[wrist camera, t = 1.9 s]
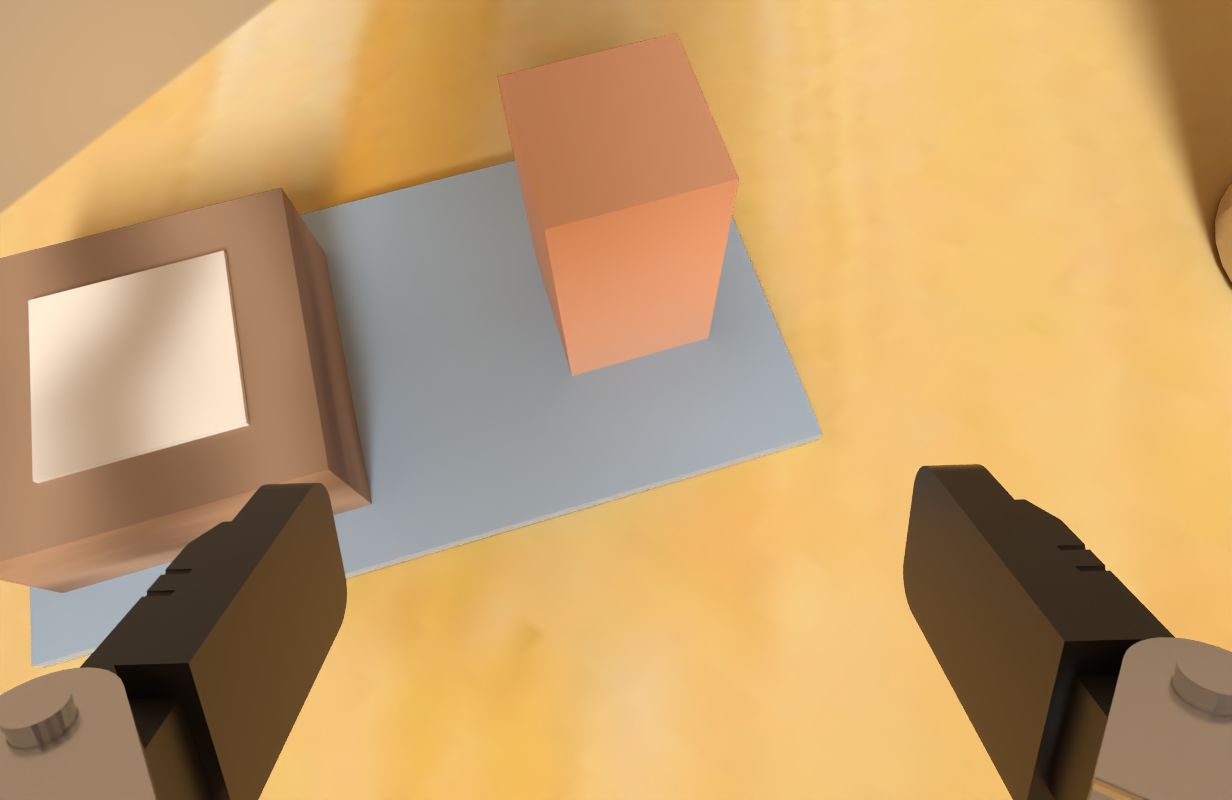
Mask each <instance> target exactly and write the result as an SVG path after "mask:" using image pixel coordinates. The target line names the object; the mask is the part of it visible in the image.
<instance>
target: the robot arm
mask: <svg viewBox="0 0 1232 800" xmlns="http://www.w3.org/2000/svg"><path fill="white" fill-rule="evenodd" d="M1215 237H1216V245H1217V249H1218V252H1219V256H1220V259H1221V263H1222V266H1223V267H1224V269H1225V271H1226V273H1227V275H1228V277H1229V279H1230V280H1231V282H1232V183H1231V184H1230V185H1229V187H1228V189H1227V190H1226V192H1225V194H1224V195H1223V197H1222V199H1221V200H1220V203H1219V207H1218V211H1217V215H1216V219H1215ZM165 570H166V573H165V575H160V576H159V577H158V579H157V580H156V581H155V582H154V583H153V584H152V585H151V587H150V588H149V589H148V590H147V595H146V596H145V597H141V598H140V599H139V600H138V601H137V603H136V604H135V605H134V606H133V607H132V608H131V610H130V611H129V612H128V613H127V614H126V615H125V616H124V618H123V619H122V620H121V621H120V622H119V623H118V624H117V626H116V627H115V628H114V629H113V630H112V631H111V632H110V634H109V635H108V636H107V637H106V638H105V639H104V640H103V642H102V643H101V644H100V645H99V646H98V647H97V649H96V650H95V651H94V652H93V653H92V654H91V655H90V657H89V658H88V659H87V660H86V661H85V662H84V663H83V665H82V666H81V667H80V668H74V669H67V670H62V671H58V672H54V673H50V674H47V675H44V676H41V677H38V678H35V679H33V680H30V681H28V682H26V683H23V684H21V685H19V686H17V687H15V688H13V689H11V690H9V691H7V692H5V693H4V694H2V695H0V800H258V799H259V797H260V795H261V793H262V790H263V788H264V786H265V784H266V782H267V780H268V778H269V776H270V774H271V772H272V770H273V767H274V765H275V763H276V761H277V759H278V757H279V755H280V753H281V751H282V749H283V746H284V744H285V742H286V740H287V738H288V736H289V734H290V732H291V730H292V728H293V725H294V723H295V721H296V719H297V717H298V715H299V713H300V711H301V709H302V707H303V704H304V702H305V700H306V698H307V696H308V694H309V692H310V690H311V688H312V686H313V683H314V681H315V679H316V677H317V675H318V673H319V671H320V669H321V667H322V665H323V662H324V660H325V658H326V656H327V654H328V652H329V650H330V648H331V646H332V644H333V641H334V639H335V637H336V635H337V633H338V631H339V629H340V627H341V624H342V621H343V618H344V614H345V609H346V600H347V585H346V577H345V571H344V566H343V561H342V556H341V551H340V546H339V541H338V536H337V531H336V526H335V521H334V516H333V511H332V505H331V501H330V497H329V494H328V491H327V489H326V487H325V486H324V485H323V484H322V483H290V484H265V485H262V486H261V487H260V488H259V489H258V490H257V491H256V492H255V493H254V495H253V496H252V497H251V498H250V500H249V501H248V502H247V503H246V504H245V506H244V507H243V508H242V509H241V510H240V512H239V513H238V514H237V515H236V517H235V518H234V519H233V520H232V521H226V522H221V523H219V524H218V525H216V526H215V527H213V528H212V529H210V530H209V531H207V532H205V533H204V534H202V535H201V536H199V537H198V538H196V539H195V540H193V541H191V542H190V543H188V544H187V545H186V546H185V548H184V549H183V550H182V551H181V552H180V553H179V554H178V556H177V557H176V558H175V559H174V560H173V561H172V562H171V564H170V565H169V566H168V567H167V568H166V569H165ZM903 578H904V587H905V593H906V598H907V601H908V604H909V607H910V609H911V612H912V614H913V615H914V617H915V619H916V621H917V623H918V625H919V627H920V628H921V630H922V632H923V634H924V636H925V638H926V640H927V641H928V643H929V645H930V647H931V649H932V651H933V652H934V654H935V656H936V658H937V660H938V662H939V664H940V665H941V667H942V669H943V671H944V673H945V675H946V677H947V678H948V680H949V682H950V684H951V686H952V688H953V689H954V691H955V693H956V695H957V697H958V699H959V701H960V702H961V704H962V706H963V708H964V710H965V712H966V714H967V715H968V717H969V719H970V721H971V723H972V725H973V726H974V728H975V730H976V732H977V734H978V736H979V738H980V739H981V741H982V743H983V745H984V747H985V749H986V751H987V752H988V754H989V756H990V758H991V760H992V762H993V763H994V765H995V767H996V769H997V771H998V773H999V775H1000V776H1001V778H1002V780H1003V782H1004V784H1005V786H1006V788H1007V789H1008V791H1009V793H1010V795H1011V797H1012V799H1013V800H1232V652H1230V651H1228V650H1225V649H1222V648H1219V647H1216V646H1214V645H1210V644H1206V643H1203V642H1199V641H1194V640H1189V639H1182V638H1175V637H1174V636H1173V635H1172V634H1171V633H1170V632H1169V631H1168V630H1167V629H1166V628H1165V627H1164V626H1163V625H1162V624H1161V623H1160V622H1159V621H1158V619H1157V618H1156V617H1155V616H1154V615H1153V614H1152V613H1151V612H1150V611H1149V610H1148V609H1147V608H1146V607H1145V606H1144V605H1143V604H1142V603H1141V602H1140V601H1139V600H1138V599H1137V598H1136V597H1135V596H1134V595H1133V594H1132V593H1131V592H1130V591H1129V590H1128V589H1127V588H1126V587H1125V585H1124V584H1123V583H1122V582H1121V581H1120V580H1119V579H1118V578H1117V577H1116V576H1115V575H1114V574H1113V573H1112V572H1111V571H1106V570H1105V565H1104V564H1103V563H1102V562H1101V561H1100V560H1099V559H1098V558H1097V557H1096V556H1095V555H1094V554H1093V553H1092V551H1091V550H1086V549H1085V544H1084V543H1083V542H1082V541H1081V540H1080V539H1079V538H1078V537H1077V536H1076V535H1075V534H1074V533H1073V532H1072V531H1071V530H1070V529H1069V528H1068V527H1067V526H1066V525H1065V524H1064V523H1063V522H1062V521H1061V520H1060V519H1058V518H1056V517H1055V516H1053V515H1051V514H1049V513H1048V512H1046V511H1044V510H1042V509H1041V508H1039V507H1037V506H1035V505H1034V504H1032V503H1030V502H1028V501H1026V500H1014V499H1013V498H1012V497H1011V495H1010V494H1009V493H1008V492H1007V491H1006V490H1005V489H1004V488H1003V487H1002V486H1001V484H1000V483H999V482H998V481H997V480H996V479H995V478H994V477H993V476H992V475H991V473H990V472H989V471H988V470H987V469H986V468H985V467H984V466H982V465H978V464H973V465H940V466H923V467H921V468H920V469H919V471H918V472H917V475H916V478H915V482H914V488H913V496H912V503H911V511H910V518H909V526H908V534H907V541H906V549H905V556H904V565H903Z"/></svg>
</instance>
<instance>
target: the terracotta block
mask: <svg viewBox="0 0 1232 800" xmlns="http://www.w3.org/2000/svg"><path fill="white" fill-rule="evenodd" d="M497 78H498V83H499V87H500V92H501V97H502V101H503V106H504V111H505V115H506V120H507V124H508V129H509V134H510V138H511V143H512V148H513V152H514V157H515V161H516V166H517V171H518V175H519V180H520V185H521V189H522V194H523V199H524V203H525V208H526V212H527V217H528V222H529V226H530V231H531V236H532V240H533V245H534V250H535V254H536V258H537V262H538V265H539V268H540V272H541V275H542V278H543V282H544V285H545V288H546V292H547V295H548V298H549V302H550V305H551V308H552V312H553V315H554V318H555V322H556V325H557V328H558V332H559V335H560V338H561V342H562V345H563V348H564V352H565V355H566V358H567V362H568V365H569V368H570V372H571V375H572V376H574V375H578V374H581V373H585V372H588V371H592V370H595V369H599V368H603V367H606V366H610V365H613V364H617V363H621V362H624V361H628V360H631V359H635V358H638V357H642V356H646V355H649V354H653V353H656V352H660V351H663V350H667V349H671V348H674V347H678V346H681V345H685V344H689V343H692V342H696V341H699V340H703V339H706V338H708V337H709V332H710V327H711V321H712V316H713V311H714V306H715V301H716V296H717V290H718V285H719V280H720V275H721V270H722V265H723V259H724V254H725V249H726V244H727V239H728V233H729V228H730V223H731V218H732V213H733V208H734V202H735V197H736V192H737V187H738V182H739V177H738V175H737V173H736V170H735V168H734V166H733V163H732V161H731V159H730V156H729V154H728V152H727V149H726V147H725V145H724V142H723V140H722V138H721V135H720V133H719V131H718V128H717V126H716V124H715V121H714V119H713V117H712V114H711V112H710V110H709V107H708V105H707V103H706V100H705V98H704V96H703V93H702V91H701V89H700V86H699V84H698V82H697V79H696V77H695V75H694V72H693V70H692V68H691V65H690V63H689V61H688V58H687V56H686V54H685V51H684V49H683V47H682V44H681V42H680V40H679V37H678V35H677V33H673V34H669V35H665V36H661V37H657V38H653V39H649V40H645V41H641V42H637V43H633V44H628V45H624V46H620V47H616V48H612V49H608V50H604V51H600V52H596V53H592V54H588V55H583V56H579V57H575V58H571V59H567V60H563V61H559V62H555V63H551V64H547V65H543V66H538V67H534V68H530V69H526V70H522V71H518V72H514V73H510V74H506V75H502V76H498V77H497Z"/></svg>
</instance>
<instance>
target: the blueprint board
mask: <svg viewBox="0 0 1232 800" xmlns="http://www.w3.org/2000/svg"><path fill="white" fill-rule="evenodd" d="M300 217H301V218H302V220H303V221H304V223H305V224H306V226H307V227H308V229H309V230H310V232H311V233H312V234H313V236H314V237H315V239H316V240H317V242H318V243H319V245H320V246H321V248H322V249H323V251H324V252H325V255H326V260H327V265H328V271H329V276H330V282H331V287H332V292H333V298H334V303H335V308H336V314H337V319H338V325H339V330H340V335H341V341H342V346H343V351H344V357H345V362H346V368H347V373H348V378H349V384H350V389H351V394H352V400H353V405H354V411H355V416H356V421H357V427H358V432H359V437H360V443H361V448H362V453H363V459H364V464H365V470H366V475H367V480H368V486H369V491H370V496H371V502H372V505H368V506H365V507H361V508H358V509H354V510H351V511H347V512H344V513H340V514H337V515H333V516H334V521H335V526H336V531H337V536H338V541H339V546H340V551H341V556H342V561H343V566H344V571H345V577H346V579H347V578H350V577H353V576H357V575H360V574H364V573H367V572H370V571H374V570H377V569H381V568H384V567H387V566H391V565H394V564H398V563H401V562H404V561H408V560H411V559H415V558H418V557H421V556H425V555H428V554H432V553H435V552H438V551H442V550H445V549H449V548H452V547H455V546H459V545H462V544H466V543H469V542H472V541H476V540H479V539H483V538H486V537H489V536H493V535H496V534H500V533H503V532H506V531H510V530H513V529H517V528H520V527H523V526H527V525H530V524H534V523H537V522H540V521H544V520H547V519H551V518H554V517H557V516H561V515H564V514H568V513H571V512H574V511H578V510H581V509H585V508H588V507H591V506H595V505H598V504H602V503H605V502H608V501H612V500H615V499H619V498H622V497H625V496H629V495H632V494H636V493H639V492H642V491H646V490H649V489H653V488H656V487H659V486H663V485H666V484H670V483H673V482H676V481H680V480H683V479H687V478H690V477H693V476H697V475H700V474H704V473H707V472H710V471H714V470H717V469H721V468H724V467H727V466H731V465H734V464H738V463H741V462H744V461H748V460H751V459H754V458H758V457H761V456H765V455H768V454H771V453H775V452H778V451H782V450H785V449H788V448H792V447H795V446H799V445H802V444H805V443H809V442H812V441H816V440H819V439H820V437H821V435H822V431H821V429H820V426H819V424H818V422H817V419H816V417H815V414H814V412H813V410H812V407H811V405H810V402H809V400H808V398H807V395H806V393H805V390H804V388H803V385H802V383H801V381H800V378H799V376H798V373H797V371H796V369H795V366H794V364H793V361H792V359H791V357H790V354H789V352H788V349H787V347H786V345H785V342H784V340H783V337H782V335H781V333H780V330H779V328H778V325H777V323H776V321H775V318H774V316H773V313H772V311H771V309H770V306H769V304H768V301H767V299H766V296H765V294H764V292H763V289H762V287H761V284H760V282H759V280H758V277H757V275H756V272H755V270H754V268H753V265H752V263H751V260H750V258H749V256H748V253H747V251H746V248H745V246H744V244H743V241H742V239H741V236H740V234H739V232H738V229H737V227H736V224H735V222H734V219H733V217H732V218H731V223H730V228H729V233H728V239H727V244H726V249H725V254H724V259H723V265H722V270H721V275H720V280H719V285H718V290H717V296H716V301H715V306H714V311H713V316H712V321H711V327H710V332H709V337H708V338H706V339H703V340H699V341H696V342H692V343H689V344H685V345H681V346H678V347H674V348H671V349H667V350H663V351H660V352H656V353H653V354H649V355H646V356H642V357H638V358H635V359H631V360H628V361H624V362H621V363H617V364H613V365H610V366H606V367H603V368H599V369H595V370H592V371H588V372H585V373H581V374H578V375H574V376H572V375H571V372H570V368H569V365H568V362H567V358H566V355H565V352H564V348H563V345H562V342H561V338H560V335H559V332H558V328H557V325H556V322H555V318H554V315H553V312H552V308H551V305H550V302H549V298H548V295H547V292H546V288H545V285H544V282H543V278H542V275H541V272H540V268H539V265H538V262H537V258H536V254H535V250H534V245H533V240H532V236H531V231H530V226H529V222H528V217H527V212H526V208H525V203H524V199H523V194H522V189H521V185H520V180H519V175H518V171H517V166H516V161H515V160H514V161H510V162H506V163H502V164H498V165H494V166H490V167H487V168H483V169H479V170H475V171H471V172H467V173H463V174H459V175H455V176H451V177H447V178H443V179H439V180H435V181H431V182H427V183H424V184H420V185H416V186H412V187H408V188H404V189H400V190H396V191H392V192H388V193H384V194H380V195H376V196H372V197H368V198H365V199H361V200H357V201H353V202H349V203H345V204H341V205H337V206H333V207H329V208H325V209H321V210H317V211H313V212H309V213H305V214H302V215H300ZM170 564H171V562H170V563H166V564H163V565H159V566H156V567H152V568H149V569H145V570H142V571H138V572H135V573H131V574H128V575H124V576H121V577H117V578H114V579H110V580H107V581H103V582H100V583H96V584H93V585H89V586H86V587H82V588H79V589H75V590H72V591H68V592H65V593H59V592H54V591H50V590H45V589H40V588H36V587H31V586H30V611H31V657H32V666H36V667H47V666H51V665H54V664H58V663H61V662H64V661H68V660H71V659H75V658H78V657H81V656H85V655H88V654H92V653H93V652H94V651H95V650H96V649H97V647H98V646H99V645H100V644H101V643H102V642H103V640H104V639H105V638H106V637H107V636H108V635H109V634H110V632H111V631H112V630H113V629H114V628H115V627H116V626H117V624H118V623H119V622H120V621H121V620H122V619H123V618H124V616H125V615H126V614H127V613H128V612H129V611H130V610H131V608H132V607H133V606H134V605H135V604H136V603H137V601H138V600H139V599H140V598H141V597H145V596H146V595H147V590H148V589H149V588H150V587H151V585H152V584H153V583H154V582H155V581H156V580H157V579H158V577H159V576H160V575H165V573H166V570H165V569H166V568H167V567H168V566H169V565H170Z"/></svg>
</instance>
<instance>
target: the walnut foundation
mask: <svg viewBox="0 0 1232 800" xmlns="http://www.w3.org/2000/svg"><path fill="white" fill-rule="evenodd" d="M290 483H322V484H323V485H324V486H325V487H326V489H327V491H328V494H329V497H330V501H331V505H332V511H333V515H337V514H340V513H344V512H347V511H351V510H354V509H358V508H361V507H365V506H368V505H372V502H371V496H370V491H369V486H368V480H367V475H366V470H365V464H364V459H363V453H362V448H361V443H360V437H359V432H358V427H357V421H356V416H355V411H354V405H353V400H352V394H351V389H350V384H349V378H348V373H347V368H346V362H345V357H344V351H343V346H342V341H341V335H340V330H339V325H338V319H337V314H336V308H335V303H334V298H333V292H332V287H331V282H330V276H329V271H328V265H327V260H326V255H325V252H324V251H323V249H322V248H321V246H320V245H319V243H318V242H317V240H316V239H315V237H314V236H313V234H312V233H311V232H310V230H309V229H308V227H307V226H306V224H305V223H304V221H303V220H302V218H301V217H300V215H299V214H298V212H297V211H296V209H295V208H294V206H293V205H292V203H291V202H290V200H289V199H288V197H287V196H286V194H285V193H284V191H283V190H282V188H279V189H275V190H271V191H267V192H263V193H259V194H255V195H251V196H247V197H243V198H239V199H235V200H231V201H227V202H223V203H219V204H215V205H211V206H207V207H203V208H199V209H195V210H191V211H187V212H183V213H179V214H175V215H171V216H167V217H163V218H159V219H155V220H151V221H147V222H143V223H139V224H135V225H131V226H127V227H123V228H119V229H115V230H111V231H107V232H103V233H99V234H95V235H91V236H87V237H83V238H79V239H75V240H71V241H67V242H63V243H59V244H55V245H51V246H47V247H43V248H39V249H35V250H31V251H27V252H23V253H19V254H15V255H11V256H7V257H3V258H0V580H3V581H8V582H12V583H17V584H22V585H26V586H31V587H36V588H40V589H45V590H50V591H54V592H59V593H65V592H68V591H72V590H75V589H79V588H82V587H86V586H89V585H93V584H96V583H100V582H103V581H107V580H110V579H114V578H117V577H121V576H124V575H128V574H131V573H135V572H138V571H142V570H145V569H149V568H152V567H156V566H159V565H163V564H166V563H170V562H172V561H173V560H174V559H175V558H176V557H177V556H178V554H179V553H180V552H181V551H182V550H183V549H184V548H185V546H186V545H187V544H188V543H190V542H191V541H193V540H195V539H196V538H198V537H199V536H201V535H202V534H204V533H205V532H207V531H209V530H210V529H212V528H213V527H215V526H216V525H218V524H219V523H221V522H226V521H232V520H233V519H234V518H235V517H236V515H237V514H238V513H239V512H240V510H241V509H242V508H243V507H244V506H245V504H246V503H247V502H248V501H249V500H250V498H251V497H252V496H253V495H254V493H255V492H256V491H257V490H258V489H259V488H260V487H261V486H262V485H265V484H290Z"/></svg>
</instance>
